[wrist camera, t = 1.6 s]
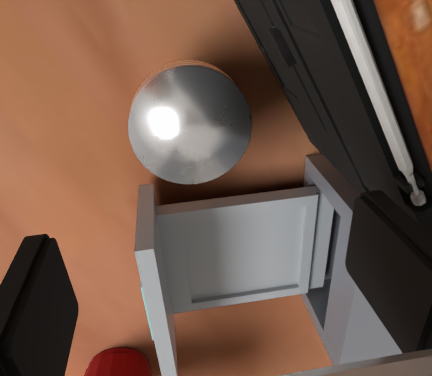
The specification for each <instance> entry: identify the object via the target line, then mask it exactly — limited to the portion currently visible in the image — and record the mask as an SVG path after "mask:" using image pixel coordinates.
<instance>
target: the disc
mask: <svg viewBox="0 0 432 376" xmlns="http://www.w3.org/2000/svg"><path fill="white" fill-rule="evenodd" d="M251 130H252V120H251V113H250V109H249V106H248V103H247V101H246V99H245V97H244V95H243V94H242V93H241V91H240V90H239V88H238V87H237V86H236V84H235V83H234V82H233V80H232V79H231V78H230V77H229V76H228V75H227V74H226V73H225V72H223V71H222V70H221V69H219V68H217V67H216V66H214V65H211V64H209V63H206V62H203V61H199V60H178V61H173V62H170V63H167V64H165V65H162V66H160V67H158V68H157V69H155V70H154V71H152V72H151V73H150V74H149V75H148V76H147V77H146V78H145V79H144V80H143V81H142V82H141V84H140V85H139V87H138V88H137V90H136V92H135V94H134V97H133V100H132V103H131V109H130V115H129V121H128V132H129V139H130V143H131V146H132V148H133V151H134V153H135V154H136V156H137V158H138V159H139V160H140V162H141V163H142V164H143V165H144V166H145V167H146V168H147V169H148V170H149V171H150V172H152V173H153V174H155V175H156V176H158V177H160V178H162V179H164V180H167V181H170V182H173V183H179V184H199V183H204V182H208V181H211V180H213V179H216V178H218V177H220V176H221V175H223V174H225V173H226V172H227V171H229V170H230V169H231V168H232V167H233V166H234V165H236V163H237V162H238V161H239V160H240V159H241V157H242V155H243V154H244V152H245V150H246V148H247V146H248V143H249V140H250V136H251Z"/></svg>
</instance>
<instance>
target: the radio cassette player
mask: <svg viewBox="0 0 432 376" xmlns="http://www.w3.org/2000/svg"><path fill="white" fill-rule="evenodd" d="M234 1H235V3H236V5H237V7H238V9H239V11H240V12H241V14H242V16H243V18H244V20H245V22H246V24H247V25H248V27H249V29H250V31H251V33H252V35H253V36H254V38H255V40H256V42H257V44H258V46H259V48H260V49H261V51H262V53H263V55H264V57H265V59H266V60H267V62H268V64H269V66H270V68H271V70H272V72H273V73H274V75H275V77H276V79H277V81H278V83H279V84H280V86H281V88H282V90H283V92H284V94H285V96H286V97H287V99H288V101H289V103H290V105H291V107H292V108H293V110H294V112H295V114H296V116H297V118H298V120H299V121H300V123H301V125H302V127H303V129H304V131H305V132H306V134H307V136H308V138H309V140H310V142H311V143H312V144H313V145H314V146H315V147H316V148H317V149H318V150H319V151H320V152H321V153H322V154H323V156H324V157H325V158H326V159H327V160H328V161H329V162H330V163H331V164H332V165H333V166H334V167H335V168H336V169H337V171H338V172H339V173H340V174H341V175H342V176H343V177H344V178H345V179H346V180H347V181H348V182H349V183H350V184H351V186H352V187H353V188H354V189H355V190H356V191H357V192H358V193H359V194H361V193H362V192H366V191H374V190H381V191H383V192H384V193H385V194H386V195H387V196H388V197H390V198H391V199H392V200H393V201H394V202H395V203H396V204H397V205H398V206H400V207H401V208H402V209H403V210H404V211H405V212H406V213H407V214H408V215H409V216H411V217H412V218H413V219H414V220H415V221H416V222H417V223H418V224H419V225H421V226H422V227H423V228H424V229H425V230H426V231H427V232H428V233H429V234H431V235H432V0H234Z"/></svg>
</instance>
